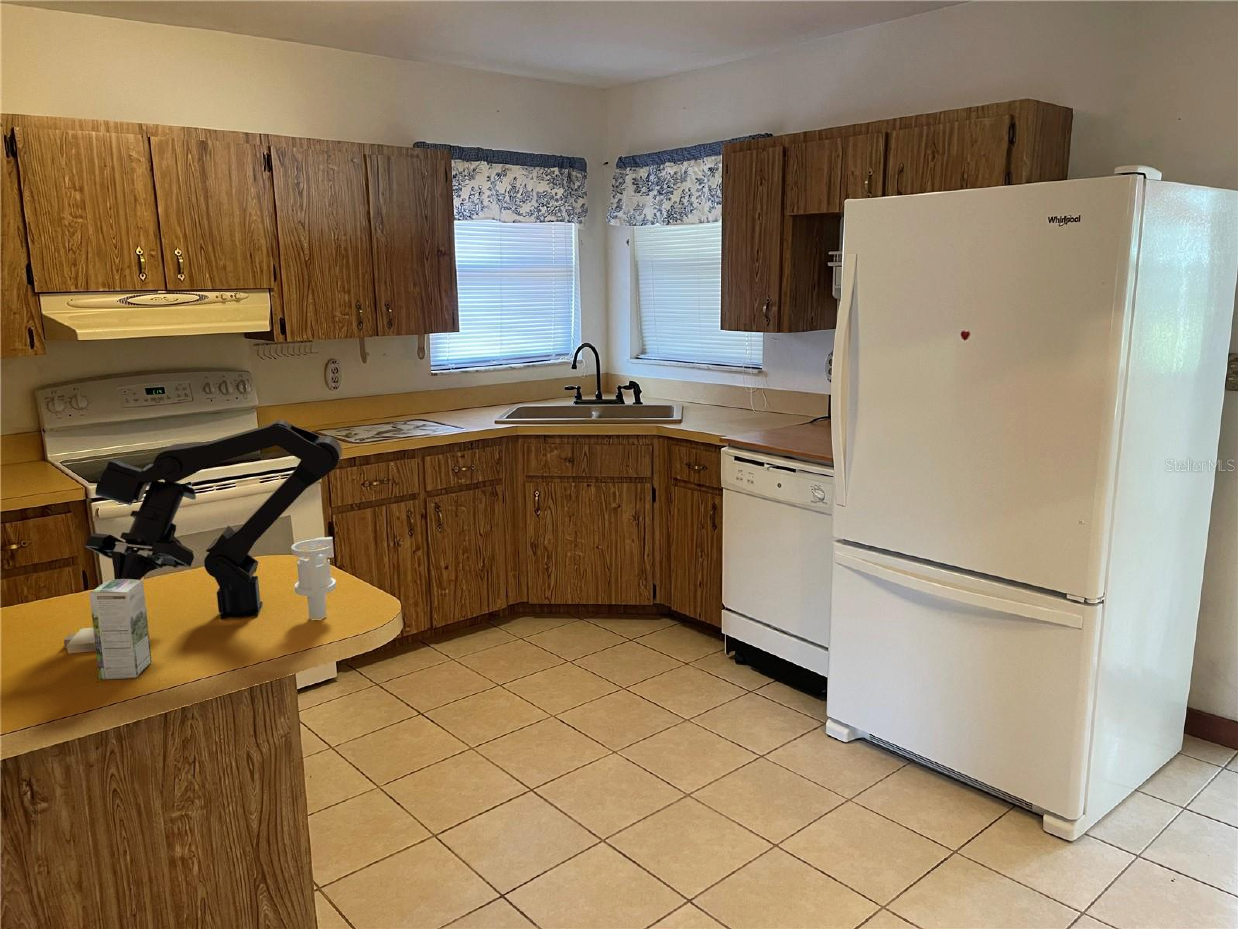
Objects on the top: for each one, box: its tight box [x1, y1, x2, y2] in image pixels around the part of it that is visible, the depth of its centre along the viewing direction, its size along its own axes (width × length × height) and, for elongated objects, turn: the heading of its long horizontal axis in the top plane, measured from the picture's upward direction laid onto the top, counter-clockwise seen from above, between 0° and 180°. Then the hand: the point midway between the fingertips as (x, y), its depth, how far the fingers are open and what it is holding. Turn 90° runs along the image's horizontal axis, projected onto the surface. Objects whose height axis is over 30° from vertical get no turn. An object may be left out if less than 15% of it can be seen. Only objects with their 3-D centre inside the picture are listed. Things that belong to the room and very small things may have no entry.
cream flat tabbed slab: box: [63, 627, 96, 654], centre depth 152 cm, size 10×7×2 cm
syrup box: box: [89, 579, 153, 680], centre depth 140 cm, size 6×6×14 cm
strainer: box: [290, 536, 337, 620], centre depth 161 cm, size 7×7×15 cm
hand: (119, 597), depth 150 cm, fingers closed
